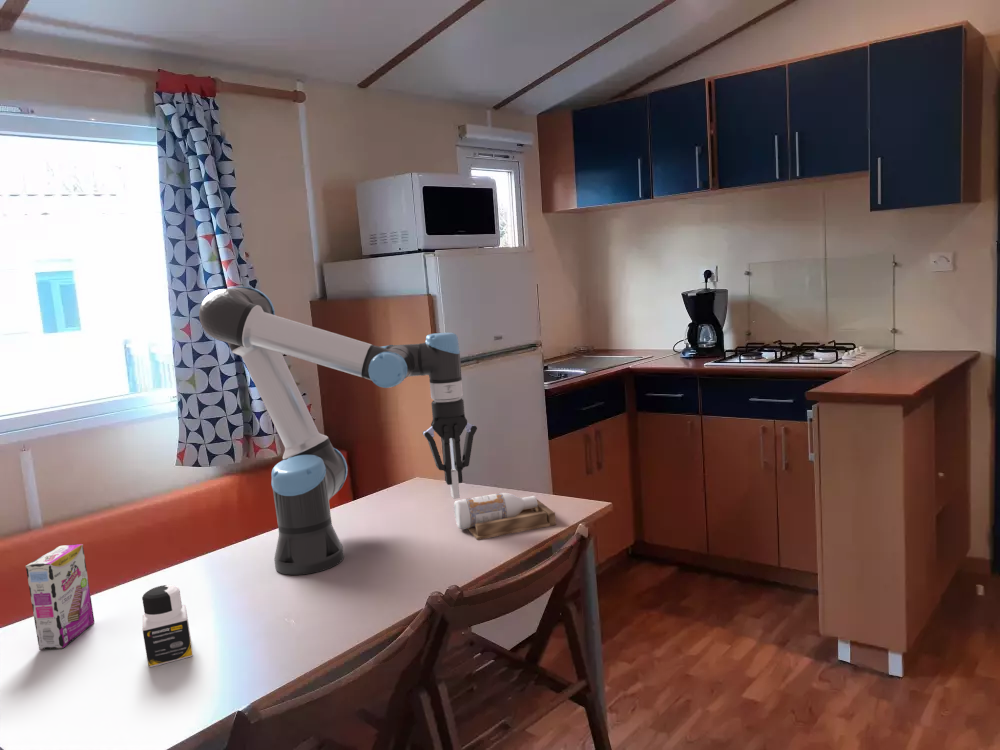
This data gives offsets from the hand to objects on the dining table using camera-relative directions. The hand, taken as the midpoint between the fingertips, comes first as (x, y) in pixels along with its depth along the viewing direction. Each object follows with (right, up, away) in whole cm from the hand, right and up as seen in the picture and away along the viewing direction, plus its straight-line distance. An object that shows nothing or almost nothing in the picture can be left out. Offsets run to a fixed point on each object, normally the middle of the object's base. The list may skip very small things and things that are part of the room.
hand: (455, 496), depth 189 cm
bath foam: (0, -5, +2) cm, 5 cm away
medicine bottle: (-47, -20, -49) cm, 71 cm away
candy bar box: (-72, -21, -37) cm, 83 cm away
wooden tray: (+12, -7, +4) cm, 14 cm away
